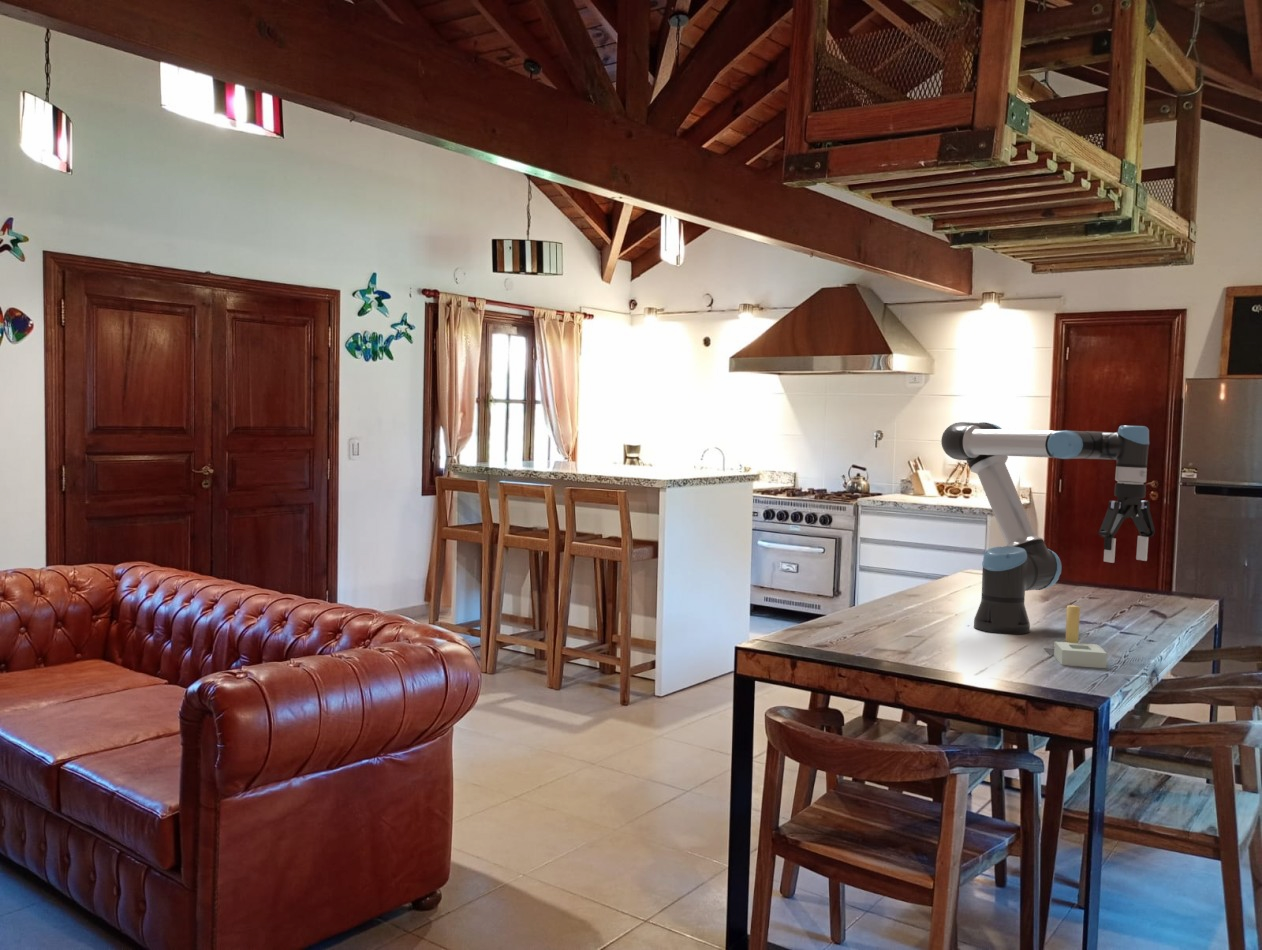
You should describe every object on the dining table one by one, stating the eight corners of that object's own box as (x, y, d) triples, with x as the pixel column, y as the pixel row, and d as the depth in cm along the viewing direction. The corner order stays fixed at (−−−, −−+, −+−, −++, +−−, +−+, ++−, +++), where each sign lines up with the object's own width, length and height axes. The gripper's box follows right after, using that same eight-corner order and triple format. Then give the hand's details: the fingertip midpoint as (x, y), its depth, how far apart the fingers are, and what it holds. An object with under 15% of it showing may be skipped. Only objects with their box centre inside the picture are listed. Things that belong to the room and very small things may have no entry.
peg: (1066, 653, 256) (1068, 607, 256) (1063, 651, 259) (1066, 605, 259) (1078, 654, 256) (1081, 607, 255) (1076, 652, 258) (1078, 605, 258)
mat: (1048, 656, 255) (1049, 654, 255) (1043, 649, 263) (1043, 647, 263) (1100, 659, 252) (1100, 658, 252) (1092, 653, 260) (1092, 651, 260)
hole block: (1061, 666, 244) (1062, 649, 244) (1053, 657, 254) (1054, 641, 253) (1106, 669, 242) (1107, 653, 241) (1096, 660, 251) (1097, 644, 251)
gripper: (1112, 484, 262) (1107, 565, 263) (1172, 483, 274) (1167, 561, 275) (1087, 481, 269) (1082, 560, 270) (1147, 481, 280) (1142, 557, 282)
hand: (1125, 561), depth 272 cm, fingers open, 13 cm apart
